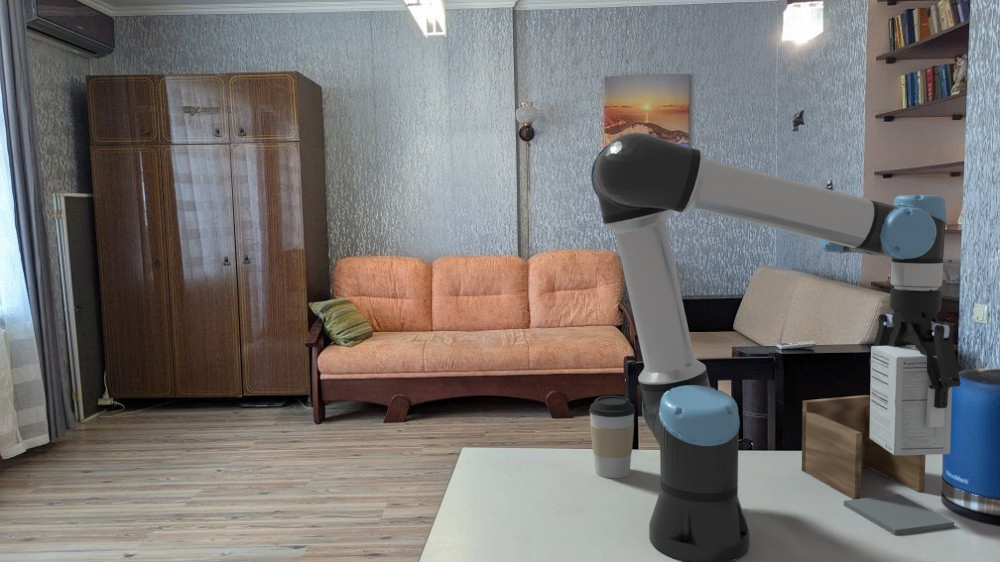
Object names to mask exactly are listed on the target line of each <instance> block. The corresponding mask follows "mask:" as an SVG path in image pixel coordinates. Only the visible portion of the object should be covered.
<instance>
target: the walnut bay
mask: <svg viewBox="0 0 1000 562" xmlns="http://www.w3.org/2000/svg"><path fill="white" fill-rule="evenodd" d="M801 421H802V427H801V429H802V431H801V471H802V472H804V473H806V475H807V474H808V475H809V476H811V477H812V478H815V479H816V480H818V481H820V482H821V483H823V484H825V485H827V486H829V487H831V488H833V490H834V489H835V490H836V491H838V492H839V493H841V494H843V495H846V496H847V497H849V498H850V499H851V500H854V499H862V498H861V495H862V494H861V491H862V490H861V489H862V485H861V484H862V467H866V468H867V469H870V470H873V471H874V472H876V473H878V474H880V475H883V476H885V477H887V478H888V479H890V480H893V481H895V482H897V483H899V484H901V485H903V486H906V487H907V488H909V489H912V490H913V491H915V492H918V493H923V492H925V488H926V487H925V484H926V483H925V480H926V457H927V455H893V454H892V453H890V452H889V451H887V450H886V449H884V448H883V447H882V446H880V445H879V444H877V443H876V442H874V441H873V440H871V439H870V395H869V394H863V395H853V396H843V397H842V396H841V397H829V398H818V399H807V400H802V419H801Z"/></svg>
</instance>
